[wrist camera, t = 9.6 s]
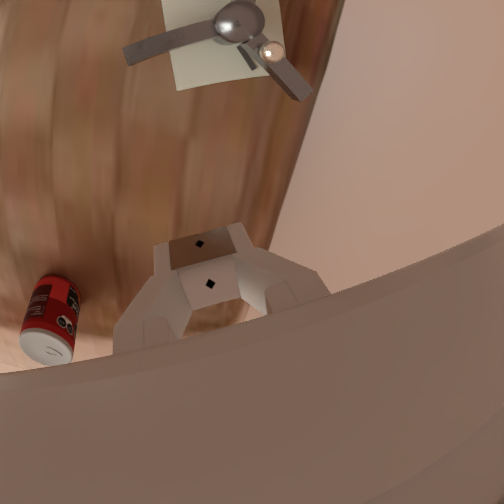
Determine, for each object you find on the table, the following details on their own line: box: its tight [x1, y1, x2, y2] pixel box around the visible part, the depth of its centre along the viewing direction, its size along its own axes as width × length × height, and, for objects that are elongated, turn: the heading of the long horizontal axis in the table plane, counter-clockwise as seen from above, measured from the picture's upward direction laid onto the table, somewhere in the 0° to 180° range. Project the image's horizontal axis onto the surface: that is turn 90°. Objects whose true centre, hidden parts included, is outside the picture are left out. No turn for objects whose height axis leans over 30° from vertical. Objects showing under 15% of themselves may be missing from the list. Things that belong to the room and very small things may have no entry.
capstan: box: [122, 0, 314, 102], centre depth 22 cm, size 16×18×7 cm
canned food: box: [19, 275, 81, 366], centre depth 34 cm, size 8×8×11 cm
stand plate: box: [161, 0, 286, 91], centre depth 24 cm, size 12×12×2 cm
